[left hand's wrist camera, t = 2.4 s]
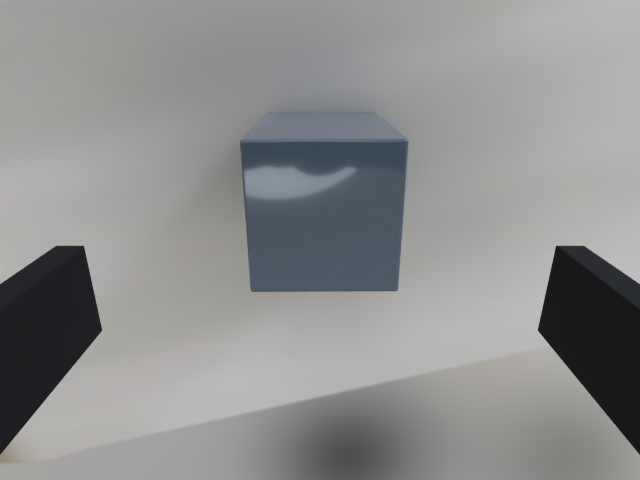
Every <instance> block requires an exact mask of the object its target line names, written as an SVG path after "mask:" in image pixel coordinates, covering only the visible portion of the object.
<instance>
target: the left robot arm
mask: <svg viewBox="0 0 640 480" xmlns="http://www.w3.org/2000/svg"><path fill="white" fill-rule="evenodd" d="M101 331H102V327H101V323H100V318H99V314H98V309H97V304H96V300H95V295H94V291H93V286H92V281H91V277H90V272H89V268H88V263H87V258H86V254H85V249H84V246H55V247H54V248H52V249H51V250H49V251H48V252H47V253H45V254H44V255H42V256H41V257H39V258H38V259H36V260H35V261H33V262H32V263H31V264H29V265H28V266H26V267H25V268H23V269H22V270H20V271H19V272H17V273H16V274H15V275H13V276H12V277H10V278H9V279H7V280H6V281H4V282H3V283H1V284H0V454H1V453H2V452H3V451H4V449H5V448H6V447H7V446H8V445H9V443H10V442H11V441H12V440H13V438H14V437H15V436H16V435H17V434H18V432H19V431H20V430H21V429H22V427H23V426H24V425H25V424H26V423H27V421H28V420H29V419H30V418H31V416H32V415H33V414H34V413H35V412H36V410H37V409H38V408H39V407H40V406H41V404H42V403H43V402H44V401H45V399H46V398H47V397H48V396H49V395H50V393H51V392H52V391H53V390H54V388H55V387H56V386H57V385H58V384H59V382H60V381H61V380H62V379H63V377H64V376H65V375H66V374H67V373H68V371H69V370H70V369H71V368H72V367H73V365H74V364H75V363H76V362H77V360H78V359H79V358H80V357H81V356H82V354H83V353H84V352H85V351H86V349H87V348H88V347H89V346H90V345H91V343H92V342H93V341H94V340H95V339H96V337H97V336H98V335H99V334H100V332H101ZM538 331H539V332H540V334H541V335H542V336H543V337H544V339H545V340H546V341H547V342H548V343H549V345H550V346H551V347H552V348H553V349H554V351H555V352H556V353H557V354H558V356H559V357H560V358H561V359H562V360H563V362H564V363H565V364H566V365H567V367H568V368H569V369H570V370H571V371H572V373H573V374H574V375H575V376H576V377H577V379H578V380H579V381H580V382H581V384H582V385H583V386H584V387H585V388H586V390H587V391H588V392H589V393H590V394H591V396H592V397H593V398H594V399H595V401H596V402H597V403H598V404H599V406H600V407H601V408H602V409H603V410H604V412H605V413H606V414H607V415H608V416H609V418H610V419H611V420H612V421H613V423H614V424H615V425H616V426H617V427H618V429H619V430H620V431H621V432H622V433H623V435H624V436H625V437H626V438H627V440H628V441H629V442H630V443H631V445H632V446H633V447H634V448H635V449H636V451H637V452H638V453H639V454H640V284H639V283H637V282H636V281H634V280H633V279H631V278H630V277H628V276H627V275H625V274H624V273H623V272H621V271H620V270H618V269H617V268H615V267H614V266H612V265H611V264H609V263H608V262H607V261H605V260H604V259H602V258H601V257H599V256H598V255H596V254H595V253H593V252H592V251H591V250H589V249H588V248H586V247H585V246H556V249H555V254H554V258H553V263H552V268H551V272H550V277H549V281H548V286H547V291H546V295H545V300H544V304H543V309H542V314H541V318H540V323H539V327H538Z"/></svg>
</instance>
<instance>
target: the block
mask: <svg viewBox="0 0 640 480" xmlns="http://www.w3.org/2000/svg"><path fill="white" fill-rule="evenodd" d="M240 148H241V162H242V175H243V189H244V203H245V217H246V231H247V245H248V259H249V273H250V287H251V291H252V292H282V291H397V290H398V283H399V268H400V254H401V240H402V226H403V212H404V197H405V183H406V169H407V155H408V139H407V138H405V137H404V136H403V135H402V134H401V133H400V132H398V131H397V130H396V129H395V128H394V127H393V126H391V125H390V124H389V123H388V122H387V121H386V120H385V119H383V118H382V117H381V116H380V115H379V114H378V113H376V112H349V113H268V114H267V115H266V116H265V117H264V118H263V119H262V120H261V121H260V122H259V123H258V124H257V125H256V126H255V127H254V128H253V129H252V130H251V131H250V132H249V133H248V134H247V135H246V136H245V137H244V138H243V139H242V140H241V141H240Z"/></svg>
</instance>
